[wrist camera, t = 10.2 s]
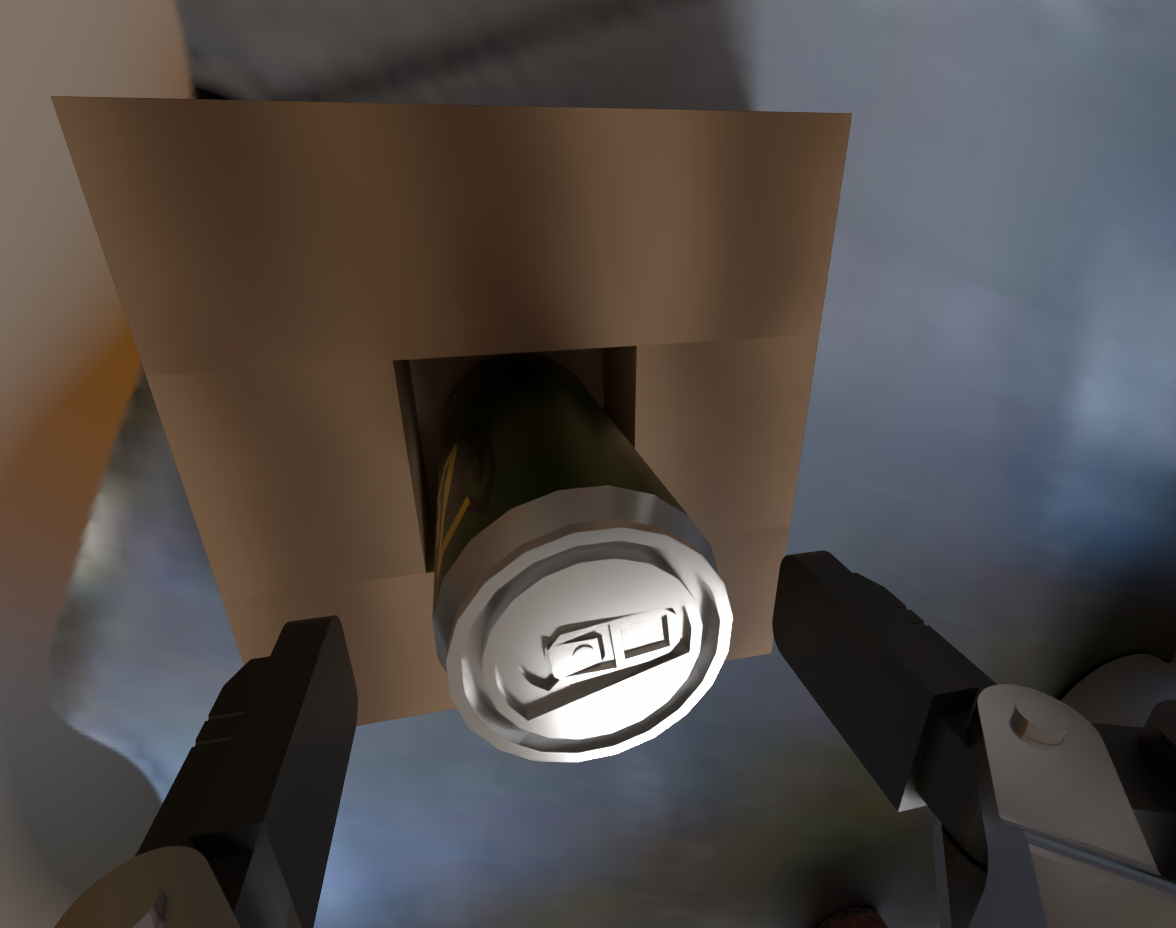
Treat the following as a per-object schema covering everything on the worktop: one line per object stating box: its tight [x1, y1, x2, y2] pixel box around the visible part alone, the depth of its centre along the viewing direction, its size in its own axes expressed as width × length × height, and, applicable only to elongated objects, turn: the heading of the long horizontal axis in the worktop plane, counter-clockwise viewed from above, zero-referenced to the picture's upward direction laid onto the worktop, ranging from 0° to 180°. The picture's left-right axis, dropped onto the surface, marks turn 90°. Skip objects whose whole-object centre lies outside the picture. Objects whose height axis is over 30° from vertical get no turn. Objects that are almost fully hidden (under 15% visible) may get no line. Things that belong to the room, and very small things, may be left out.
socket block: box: [51, 96, 852, 726], centre depth 19 cm, size 18×18×5 cm
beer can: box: [432, 353, 733, 762], centre depth 15 cm, size 5×5×12 cm
